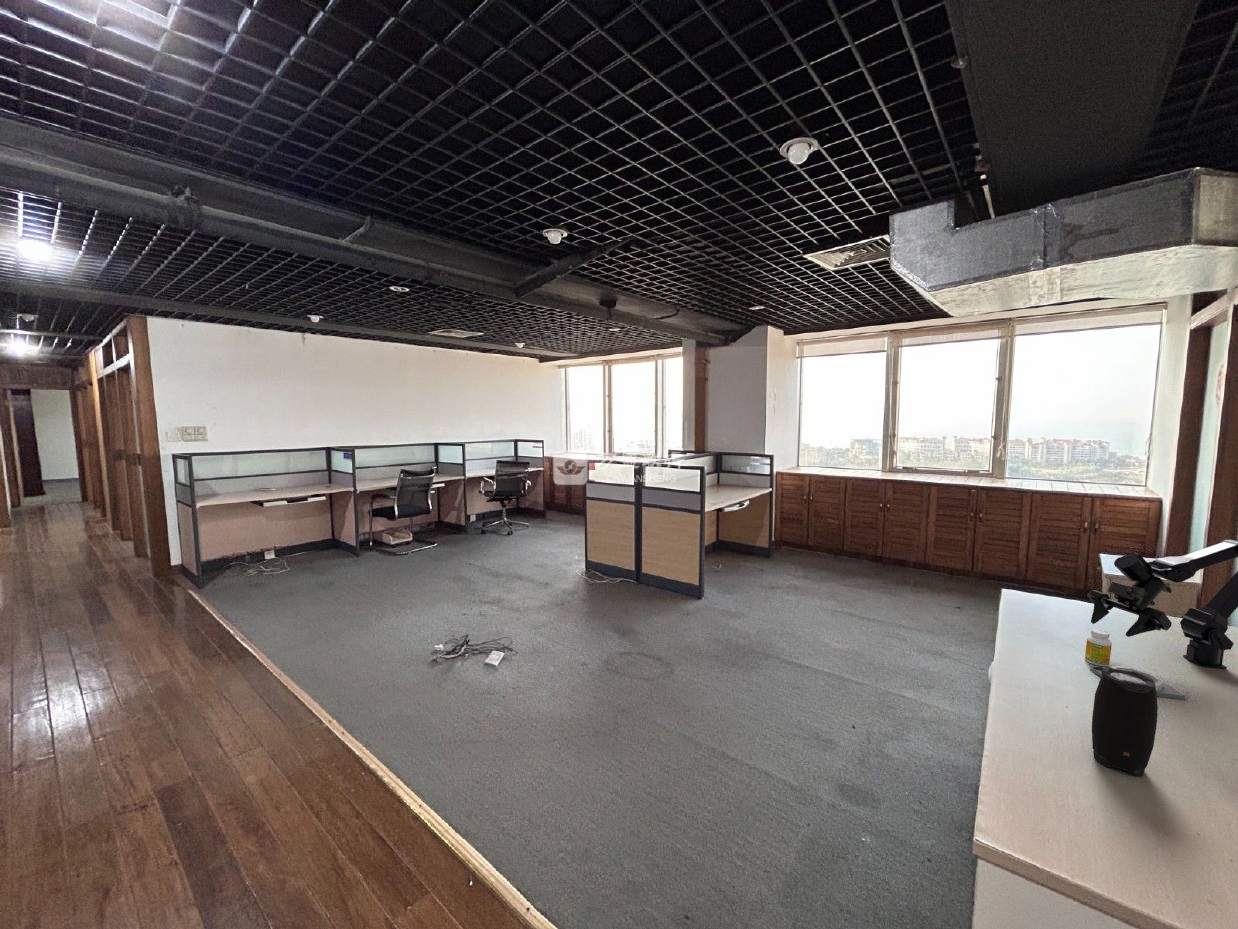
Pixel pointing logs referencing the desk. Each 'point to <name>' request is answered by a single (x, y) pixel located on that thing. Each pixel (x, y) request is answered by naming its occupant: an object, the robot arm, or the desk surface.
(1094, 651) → the supplement bottle
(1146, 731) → the portable speaker
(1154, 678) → the charging dock
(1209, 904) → the desk surface
